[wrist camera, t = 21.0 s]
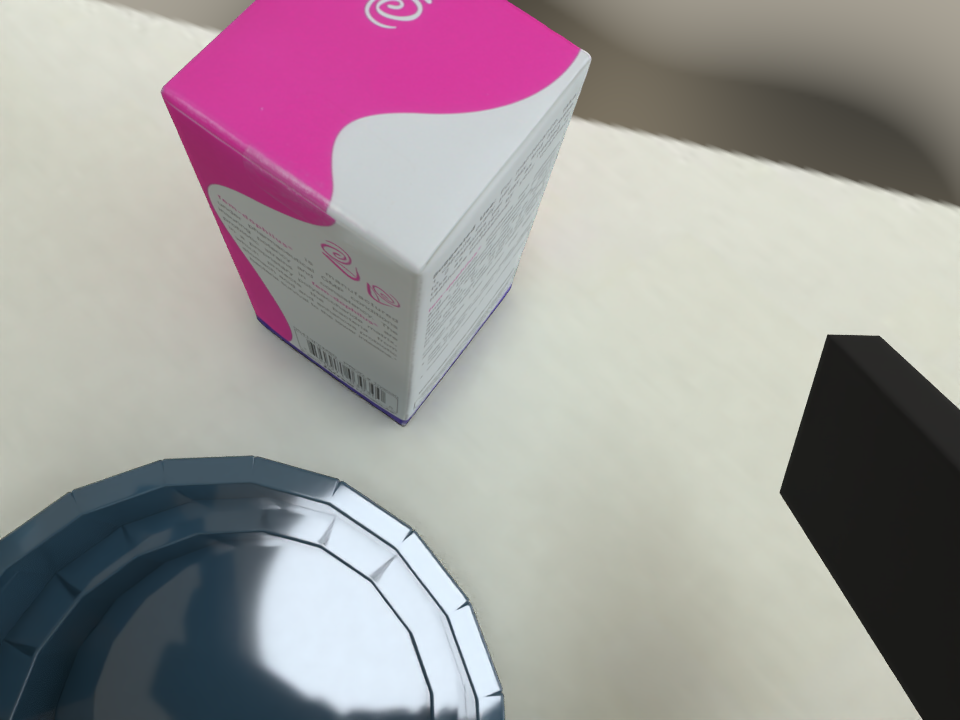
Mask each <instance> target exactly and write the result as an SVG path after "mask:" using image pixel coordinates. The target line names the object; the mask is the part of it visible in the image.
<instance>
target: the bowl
mask: <svg viewBox="0 0 960 720" xmlns="http://www.w3.org/2000/svg"><path fill="white" fill-rule="evenodd" d="M502 689H503V688H502V686H501V683H500V680H499V677H498V675H497V672H496V669H495V667H494V664H493V661H492V658H491V656H490V653H489V650H488V648H487V645H486V642H485V639H484V637H483V634H482V631H481V629H480V626H479V623H478V620H477V618H476V615H475V612H474V609H473V607H472V604H471V603H470V602H469V599H468V597H467V596H466V595H465V593H464V592H463V591H462V590H461V588H460V587H459V586H458V584H457V583H456V582H455V581H454V579H453V578H452V577H451V575H450V574H449V573H448V572H447V570H446V569H445V568H444V566H443V565H442V564H441V563H440V561H439V560H438V559H437V557H436V556H435V555H434V554H433V552H432V551H431V550H430V548H429V547H428V546H427V545H426V543H425V542H424V541H423V539H422V538H421V537H420V536H419V534H418V533H417V532H416V531H415V530H413V529H412V527H411V526H409V525H408V524H406V523H405V522H403V521H402V520H400V519H399V518H397V517H396V516H394V515H393V514H391V513H390V512H388V511H387V510H385V509H384V508H382V507H381V506H379V505H378V504H376V503H375V502H373V501H372V500H370V499H369V498H367V497H366V496H365V495H363V494H362V493H360V492H359V491H357V490H356V489H354V488H353V487H351V486H350V485H348V484H347V483H345V482H344V481H340V480H339V479H337V478H334V477H330V476H326V475H323V474H319V473H316V472H312V471H308V470H305V469H301V468H298V467H294V466H291V465H287V464H283V463H280V462H276V461H273V460H269V459H265V458H262V457H254V456H226V457H200V458H173V459H163V460H158V461H155V462H152V463H150V464H147V465H144V466H141V467H138V468H135V469H132V470H129V471H126V472H123V473H120V474H118V475H115V476H112V477H109V478H106V479H103V480H100V481H97V482H94V483H91V484H88V485H86V486H83V487H80V488H77V489H74V490H73V491H72V492H68V493H66V494H65V495H64V496H62V497H61V498H59V499H58V500H56V501H55V502H54V503H52V504H51V505H49V506H48V507H46V508H45V509H44V510H42V511H41V512H39V513H38V514H36V515H35V516H34V517H32V518H31V519H29V520H28V521H26V522H25V523H24V524H22V525H21V526H19V527H18V528H16V529H15V530H14V531H12V532H11V533H9V534H8V535H6V536H5V537H4V538H2V539H1V540H0V720H505V706H504V695H503V693H502Z"/></svg>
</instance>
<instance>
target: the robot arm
mask: <svg viewBox="0 0 960 720" xmlns="http://www.w3.org/2000/svg"><path fill="white" fill-rule="evenodd" d="M780 494H781V496H782V497H783V499H784V500H785V502H786V504H787V505H788V507H789V508H790V510H791V512H792V513H793V515H794V516H795V518H796V520H797V521H798V523H799V524H800V526H801V527H802V529H803V531H804V532H805V534H806V535H807V537H808V539H809V540H810V542H811V543H812V545H813V546H814V548H815V550H816V551H817V553H818V554H819V556H820V558H821V559H822V561H823V562H824V564H825V566H826V567H827V569H828V570H829V572H830V573H831V575H832V577H833V578H834V580H835V581H836V583H837V585H838V586H839V588H840V589H841V591H842V592H843V594H844V596H845V597H846V599H847V600H848V602H849V604H850V605H851V607H852V608H853V610H854V611H855V613H856V615H857V616H858V618H859V619H860V621H861V623H862V624H863V626H864V627H865V629H866V631H867V632H868V634H869V635H870V637H871V638H872V640H873V642H874V643H875V645H876V646H877V648H878V650H879V651H880V653H881V654H882V656H883V657H884V659H885V661H886V662H887V664H888V665H889V667H890V669H891V670H892V672H893V673H894V675H895V677H896V678H897V680H898V681H899V683H900V684H901V686H902V688H903V689H904V691H905V692H906V694H907V696H908V697H909V699H910V700H911V702H912V703H913V705H914V707H915V708H916V710H917V711H918V713H919V715H920V716H921V718H922V719H923V720H960V410H959V409H958V408H957V407H956V406H955V405H954V404H953V403H952V402H951V401H950V400H949V399H947V398H946V397H945V396H944V395H943V394H942V393H941V392H940V391H939V390H938V389H937V388H936V387H934V386H933V385H932V384H931V383H930V382H929V381H928V380H927V379H926V378H925V377H924V376H923V375H921V374H920V373H919V372H918V371H917V370H916V369H915V368H914V367H913V366H912V365H911V364H910V363H908V362H907V361H906V360H905V359H904V358H903V357H902V356H901V355H900V354H899V353H898V352H897V351H895V350H894V349H893V348H892V347H891V346H890V345H889V344H888V343H887V342H886V341H885V340H884V339H882V338H881V337H880V336H864V335H827V338H826V341H825V344H824V348H823V351H822V354H821V358H820V361H819V364H818V368H817V371H816V374H815V377H814V381H813V384H812V387H811V391H810V394H809V397H808V401H807V404H806V407H805V410H804V414H803V417H802V420H801V424H800V427H799V430H798V433H797V437H796V440H795V443H794V447H793V450H792V453H791V457H790V460H789V463H788V466H787V470H786V473H785V476H784V480H783V483H782V486H781V490H780Z"/></svg>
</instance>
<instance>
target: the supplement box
mask: <svg viewBox="0 0 960 720" xmlns="http://www.w3.org/2000/svg"><path fill="white" fill-rule="evenodd" d="M590 62H591V57H590V55H589V53H587V52H586V51H584V50H582V49H580V48H578V47H577V46H575V45H574V44H573V43H571V42H570V41H568V40H566V39H565V38H564V37H562V36H561V35H559V34H557V33H556V32H554V31H552V30H551V29H549V28H548V27H547V26H545V25H543V24H542V23H541V22H539V21H538V20H536V19H535V18H533V17H532V16H530V15H529V14H527V13H525V12H524V11H522V10H521V9H519V8H518V7H516V6H515V5H513V4H511V3H510V2H508V1H507V0H255V2H253V3H252V4H251V5H250V6H249V7H248V8H247V9H246V10H245V11H244V12H243V13H242V14H241V15H239V16H238V17H237V18H236V19H235V20H234V21H233V22H232V23H231V24H230V25H229V26H228V27H227V28H226V29H225V30H223V31H222V32H221V33H220V34H219V35H218V36H217V37H216V38H215V39H214V40H213V41H212V42H211V43H209V44H208V45H207V46H206V47H205V48H204V49H203V50H202V51H201V52H200V53H199V54H198V55H196V56H195V57H194V58H193V59H192V60H191V61H190V62H189V63H188V64H187V65H186V66H185V67H183V68H182V69H181V70H180V71H179V72H178V73H177V74H176V75H175V76H174V77H173V78H172V79H171V80H170V81H169V82H168V83H167V84H165V85H164V86H163V88H162V90H161V94H162V97H163V99H164V102H165V104H166V106H167V109H168V111H169V113H170V115H171V118H172V120H173V122H174V124H175V127H176V129H177V131H178V134H179V136H180V138H181V141H182V143H183V145H184V148H185V150H186V152H187V155H188V157H189V159H190V161H191V164H192V166H193V168H194V171H195V173H196V175H197V178H198V180H199V182H200V185H201V187H202V189H203V191H204V193H205V196H206V198H207V200H208V203H209V205H210V208H211V210H212V212H213V215H214V217H215V219H216V221H217V224H218V226H219V228H220V231H221V234H222V236H223V238H224V241H225V243H226V245H227V248H228V250H229V252H230V254H231V257H232V259H233V261H234V264H235V266H236V268H237V270H238V272H239V275H240V277H241V279H242V282H243V284H244V286H245V289H246V291H247V293H248V296H249V298H250V301H251V303H252V305H253V308H254V310H255V313H256V316H257V319H258V320H259V321H260V322H261V323H262V324H263V325H264V326H265V327H266V328H268V329H269V330H270V331H272V332H273V333H274V334H276V335H277V336H278V337H279V338H281V339H282V340H283V341H285V342H286V343H287V344H289V345H290V346H291V347H293V348H294V349H296V350H297V351H298V352H300V353H301V354H302V355H304V356H305V357H306V358H308V359H309V360H310V361H312V362H313V363H315V364H316V365H318V366H319V367H320V368H322V369H323V370H324V371H326V372H327V373H329V374H330V375H331V376H333V377H334V378H335V379H337V380H338V381H340V382H341V383H342V384H344V385H345V386H346V387H348V388H349V389H351V390H352V391H354V392H355V393H356V394H358V395H359V396H361V397H362V398H363V399H365V400H366V401H368V402H369V403H371V404H372V405H373V406H375V407H376V408H378V409H379V410H381V411H382V412H384V413H385V414H386V415H388V416H389V417H391V418H392V419H394V420H395V421H396V422H398V423H399V424H401V425H403V426H405V425H406V423H407V422H408V421H409V420H410V419H411V417H412V416H413V415H414V414H415V412H416V411H417V410H418V408H419V407H420V406H421V404H422V403H423V402H424V401H425V399H426V398H427V397H428V396H429V394H430V393H431V392H432V390H433V389H434V388H435V387H436V385H437V384H438V383H439V381H440V380H441V379H442V378H443V376H444V375H445V374H446V372H447V371H448V370H449V369H450V367H451V366H452V365H453V363H454V362H455V361H456V360H457V358H458V357H459V356H460V354H461V353H462V352H463V350H464V349H465V348H466V346H467V345H468V344H469V343H470V341H471V340H472V339H473V337H474V336H475V335H476V333H477V332H478V331H479V329H480V328H481V327H482V326H483V324H484V323H485V322H486V320H487V319H488V318H489V316H490V315H491V314H492V313H493V311H494V310H495V309H496V307H497V306H498V305H499V304H500V302H501V301H502V300H503V298H504V297H505V296H506V294H507V293H508V291H509V290H510V288H511V285H512V281H513V278H514V276H515V273H516V270H517V267H518V264H519V261H520V257H521V255H522V252H523V249H524V246H525V244H526V241H527V238H528V235H529V233H530V230H531V228H532V225H533V222H534V219H535V217H536V214H537V211H538V208H539V205H540V202H541V199H542V196H543V193H544V191H545V188H546V186H547V183H548V180H549V177H550V174H551V172H552V169H553V166H554V163H555V160H556V158H557V155H558V152H559V149H560V146H561V144H562V141H563V139H564V135H565V132H566V130H567V127H568V125H569V122H570V119H571V116H572V114H573V111H574V108H575V105H576V102H577V100H578V97H579V94H580V91H581V89H582V85H583V83H584V80H585V77H586V74H587V71H588V68H589V65H590Z"/></svg>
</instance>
